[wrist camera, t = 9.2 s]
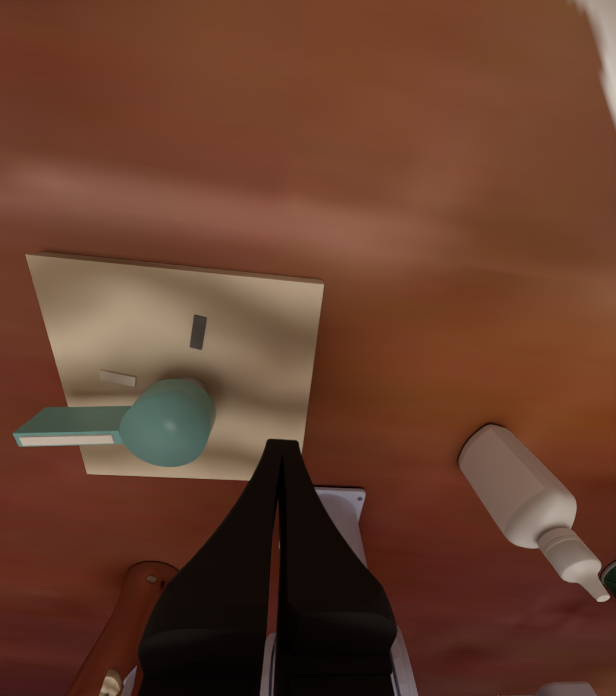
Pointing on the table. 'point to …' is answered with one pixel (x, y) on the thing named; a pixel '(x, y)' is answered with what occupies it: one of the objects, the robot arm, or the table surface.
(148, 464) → the post base
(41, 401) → the table surface
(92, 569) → the table surface
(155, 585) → the beer glass
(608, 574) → the canned tomato
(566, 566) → the eye dropper bottle
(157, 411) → the knob
